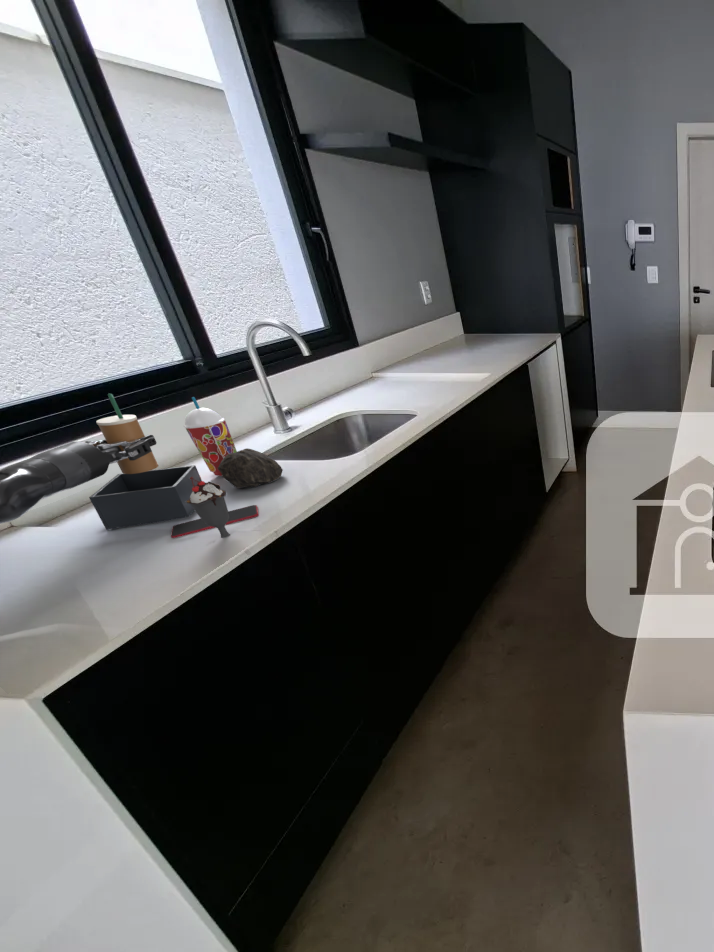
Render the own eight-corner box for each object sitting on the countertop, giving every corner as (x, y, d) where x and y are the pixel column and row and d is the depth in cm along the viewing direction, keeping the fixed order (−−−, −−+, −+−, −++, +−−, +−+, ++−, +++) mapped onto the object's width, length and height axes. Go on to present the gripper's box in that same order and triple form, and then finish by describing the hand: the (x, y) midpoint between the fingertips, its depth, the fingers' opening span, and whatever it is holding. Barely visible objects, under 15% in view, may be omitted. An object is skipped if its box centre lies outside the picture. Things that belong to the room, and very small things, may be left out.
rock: (294, 472, 146) (271, 437, 140) (260, 495, 137) (234, 459, 131) (264, 475, 148) (240, 441, 143) (228, 498, 139) (201, 463, 134)
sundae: (216, 552, 111) (180, 482, 105) (202, 544, 115) (166, 476, 108) (253, 537, 116) (221, 470, 109) (239, 531, 120) (207, 465, 113)
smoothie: (252, 469, 150) (219, 394, 141) (216, 480, 144) (178, 403, 135) (239, 464, 154) (206, 392, 145) (203, 475, 148) (166, 400, 139)
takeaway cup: (116, 476, 120) (77, 398, 112) (128, 466, 125) (91, 392, 117) (153, 471, 122) (117, 395, 114) (163, 462, 127) (129, 389, 120)
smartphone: (172, 525, 120) (256, 504, 128) (174, 529, 121) (258, 507, 128) (170, 537, 115) (257, 514, 123) (172, 540, 115) (259, 517, 123)
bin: (106, 529, 120) (88, 497, 116) (133, 504, 131) (117, 473, 128) (189, 517, 125) (174, 486, 122) (207, 494, 137) (195, 465, 133)
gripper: (96, 447, 107) (164, 422, 122) (15, 449, 106) (93, 423, 121) (115, 483, 110) (179, 454, 125) (36, 486, 109) (110, 456, 124)
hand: (137, 439), depth 123 cm, fingers closed on takeaway cup, 6 cm apart
